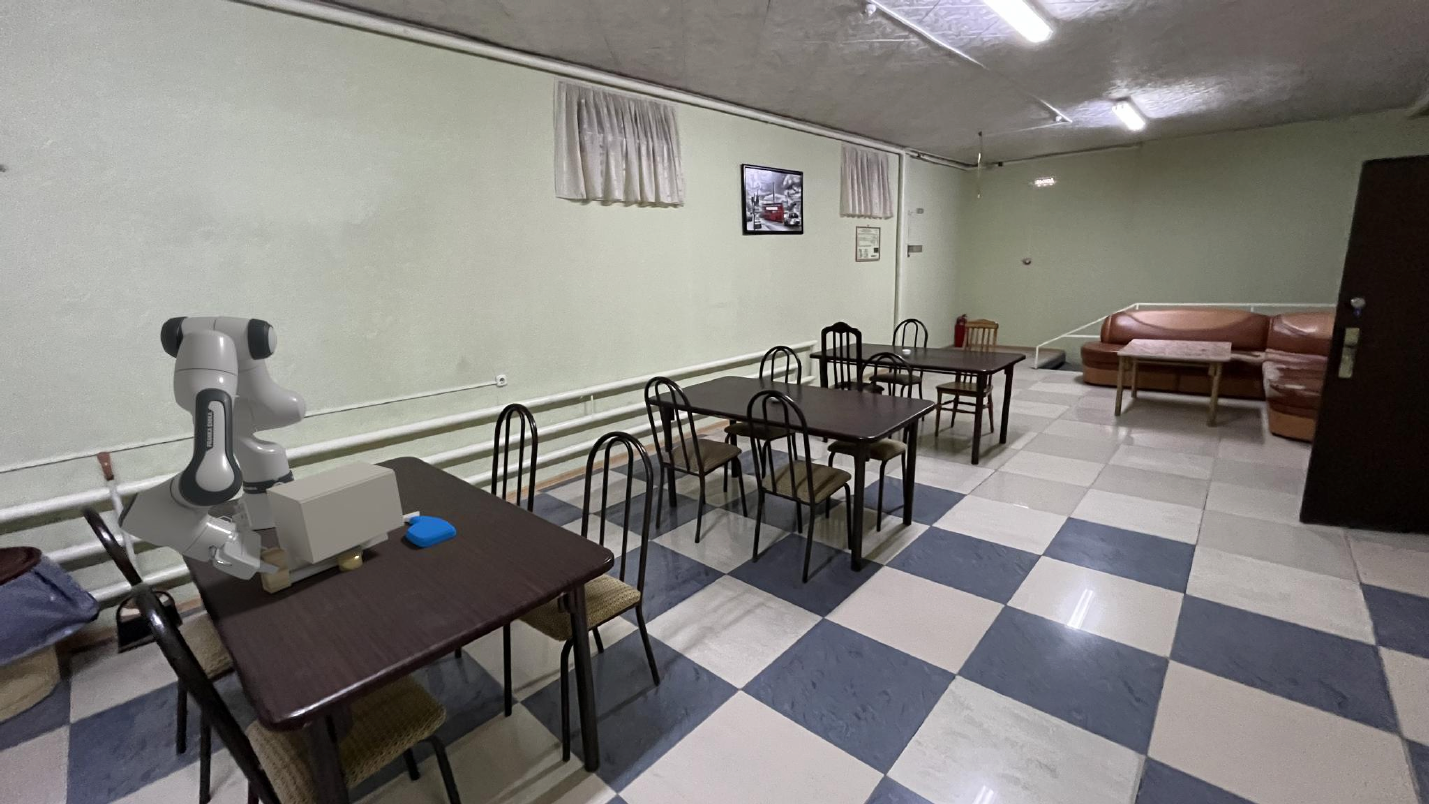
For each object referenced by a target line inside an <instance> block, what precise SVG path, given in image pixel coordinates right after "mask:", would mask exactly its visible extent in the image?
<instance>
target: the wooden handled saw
mask: <svg viewBox="0 0 1429 804" xmlns="http://www.w3.org/2000/svg"><path fill="white" fill-rule="evenodd" d="M267 549H268V548H267ZM350 551H360V552H361V556H363V555H364V550H362V546H360V545H357V546H354V547H352V548H350V549H347V550H345V551H343V552H340V553H338V554H336V555H333V556H331V557H329V558H326V559H324V560H322V561H319V562H317V563H315V564H312V563H309V564H306V565H304V566H301V567H298V568H296V569H293V570H290V571H288V566H287V561H286V555H285V551H284V550H282V549H281V548H280V546H279V547H278V546H275V547H272V548H269V549H268V550H266V551H263V552H260V560H262V561H264V562H265V563H269V564H271V563H273V564H275V565H278V566H279V570H278V571H277V572H276V573H275V574H274V575H272V574H269V573H267V572H259V573H260V578H261V582H262V587H263V590H265V591H266V592H269V593H270V594H273V593H276V592H278V591H280V590H284V589H287V588H289V587H291V586H292V584H293V583H295V582H298V581H300V580H303V579H305V578H308V577H311V576H313V575H315V574H318V573H320V572H324V571H326V570H328V569H330V568H333V567H336V566H339V564H338V560H337V558H338V557H339V556H340V555H342V554H344V553H347V552H350Z"/></svg>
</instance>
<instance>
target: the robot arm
mask: <svg viewBox="0 0 1429 804" xmlns="http://www.w3.org/2000/svg"><path fill="white" fill-rule="evenodd" d="M159 335H160V336H159V339H160V344H161V347H162V348H163V351H164V352H165V353H166V354H167V355H169V356H170V357H172V358H173V359H175V364H174V370H173V381H172V382H173V395H174V398H175V403H176V404H177V405H178V406H179V407H181V409H183V410H185V411H187V412H188V413H190V415H191V417H192V420H191V421H192V424H193V452H192V457H191V460H190V461H189V463H188V465H186V467H185V468H184V469H183V470H181V471H180V472H178V473H177V474H175V475H173V476H172V477H170V478H169V479H166V480H164V481H163V482H161V483H158V484H157V485H155V486H153V487H150V488H148V489H144V490H143V491H137V492H136V493H134V494H133V495H132V496H131V497H130V498H129V499H128V500H127V502H126V504H125V505H124V506H123V509H122V510H121V512H120V514H119V516H118V521H117V524H118V526H119V528H120V530H122V531H123V532H125V533H126V534H128V535H130V536H132V537H135V538H138V539H139V540H141V541H144V542H147V543H150V544H153V545H155V546H158V547H166V548H170V549H172V550H174V551H175V552H177V553H178V554H181V555H183V556H186V557H189V558H192V559H194V560H197V561H200V562H203V563H207V562H209V561H210V560H212V565H213V567H215V568H216V569H218V570H219V571H222V572H224V573H226V574H227V575H228V574H229V575H231V576H233V577H236V578H237V579H241V580H246V581H247V580H251V578H253V576H254V575H255V574H256V573H260V572H267V573H269V574H272V575H274V574H275V573H276V572H277V571H278V570H279V566H278V565H275V564H273V563H271V564H269V563H265V562H264V561H262V560H260V552H263V551H266V550H268V548H267V547H266V546H263V545H262V537H261V535H260V534H259V533H257V532H256V531H254V530H263V529H270V528H275V524H274V520H273V516H272V512H271V507H270V503H269V499H268V495H267V491H266V489H269V488H272V487H275V486H278V485H282V484H285V483H288V482H291V481H295V478H294V477H295V476H294V473H293V471H292V470H291V469H290V466H289V461H288V456H287V452H286V450H285V448H284V446H283V445H281V444H279V443H277V442H274V441H269V440H265V439H264V440H263V439H259V438H257V437H256V436H255V435H254V434H255V433H257V432H263V431H269V430H275V429H281V428H285V427H288V426H291V425H295V424H298V423H300V422H302V421H303V419H304V418H305V416H306V414H307V404H306V401H305V399H304V398H303V397H302V396H301V395H300V394H299V393H297V392H295V391H294V390H289V389H287V388H284V387H283V386H281V385H279V384H277V383H276V382H275V381H274V380H273V379H272V377H271V376H270V373H269V370H268V368H267V364H266V360H267V359H268V358H269V357H271V356H272V355H274V354H275V350H276V349H277V345H278V337H277V334H276V332H275V330H274V327H273V325H271V323H270V322H268V321H267V320H263V319H259V318H251V319H250V318H245V317H244V318H242V317H235V316H234V317H233V316H224V315H223V316H221V315H220V316H193V317H192V316H191V317H188V316H177V317H176V316H175V317H171V318H169V319H167V320H166V321H165V322H164V323H163V324H162V326H161V330H160V334H159ZM265 359H266V360H265ZM235 458H236V459H235ZM236 460H237V461H236ZM241 489H242V492H243V493H242V494H241V496H240V497H239V499H237V504H234V505H233V511H234V513H235V514H233V515H231V518H230V517H229V516H225V515H222V516H219V517H215V516H212V515H210V514H209V511H210V509H211V508H212V507H214V506H219V505H222V504H224V503H227V502H229V501H230V500H231V499H233V498H235V497H236V495H238V494H239V492H240V491H241Z"/></svg>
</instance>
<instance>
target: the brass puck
mask: <svg viewBox="0 0 1429 804" xmlns="http://www.w3.org/2000/svg"><path fill="white" fill-rule="evenodd" d="M337 560H338V568H339V571H341V572H351V571H353V570H356V569H358V568H360V567H361V566H362V565H363V563H364V562H363V558H362V555H361V552H360V551H350V552H347V553H344V554H342V555H340V556H339V557H338V558H337ZM355 568H356V569H355Z"/></svg>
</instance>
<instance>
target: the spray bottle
mask: <svg viewBox="0 0 1429 804" xmlns="http://www.w3.org/2000/svg"><path fill="white" fill-rule="evenodd" d="M403 519H404V523H407V522H408V523H409V524H410V525H411V526H410V527H409V528H408V529H407V530H406V533H405V537H406V539H407V540H408V541H409V542H410V543H412V544H413V545H416V546H418V547H420V548H428V547H431V546H434V545H437V544H440V543H442V542H445V541H448V540H450V539H453V538H455V537H456V534H457V530H456V528H455V526H453V525H452V524H451V523H450V522H448V521H446V520H444V519H442V518H438V517H435V516H433V517H432V516H424V515H420V510H418V511H413V512H410V513H408V514H407V513H406V514H404V515H403Z"/></svg>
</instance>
